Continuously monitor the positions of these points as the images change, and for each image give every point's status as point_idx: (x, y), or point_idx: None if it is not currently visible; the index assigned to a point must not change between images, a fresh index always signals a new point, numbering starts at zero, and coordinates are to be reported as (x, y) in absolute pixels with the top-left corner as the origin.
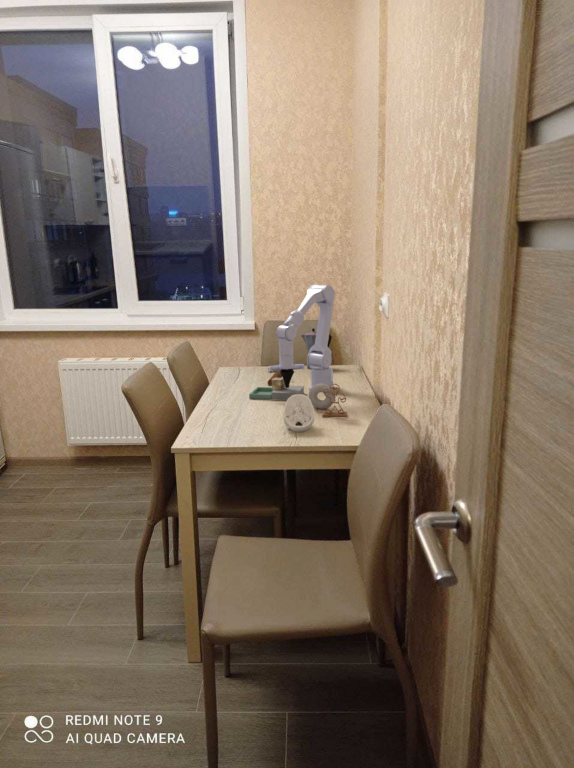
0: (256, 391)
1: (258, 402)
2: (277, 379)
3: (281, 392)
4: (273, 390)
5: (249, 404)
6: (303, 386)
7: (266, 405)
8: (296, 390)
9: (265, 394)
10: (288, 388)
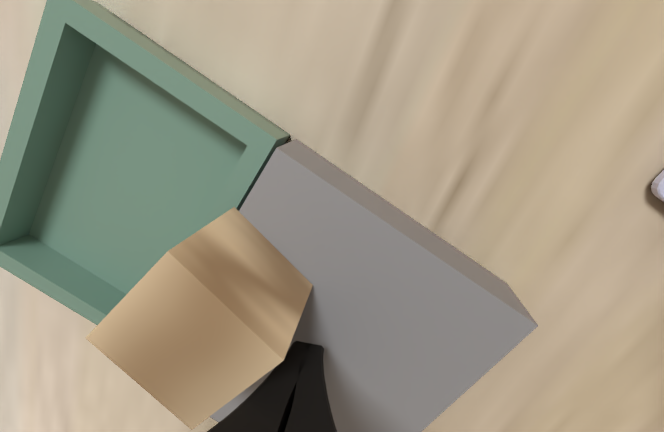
0: (63, 103)
1: (79, 348)
2: (164, 375)
3: (224, 416)
4: None
5: (19, 360)
6: (526, 335)
7: (122, 425)
8: (376, 424)
9: None
10: (334, 332)
